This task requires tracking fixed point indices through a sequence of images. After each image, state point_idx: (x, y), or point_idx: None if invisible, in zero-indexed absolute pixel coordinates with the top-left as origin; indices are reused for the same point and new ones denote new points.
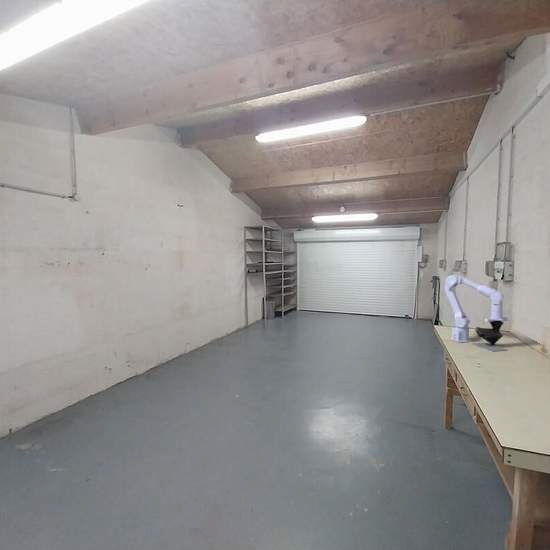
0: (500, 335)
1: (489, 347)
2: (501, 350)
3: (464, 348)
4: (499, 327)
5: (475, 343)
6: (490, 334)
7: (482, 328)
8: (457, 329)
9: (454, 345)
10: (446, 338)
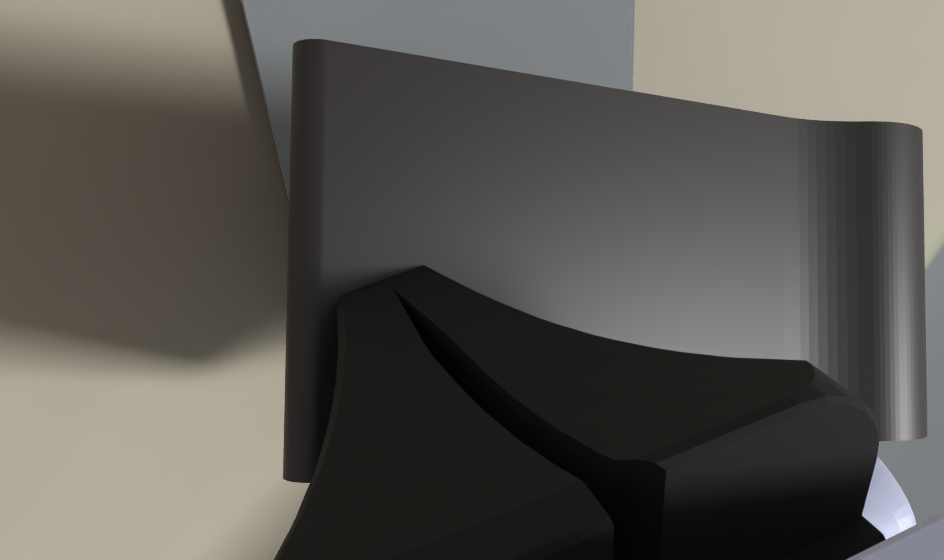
0: (387, 54)
1: (522, 7)
2: None
3: (918, 11)
4: (409, 379)
5: None
6: (675, 132)
7: None
8: (907, 519)
9: None
10: None
